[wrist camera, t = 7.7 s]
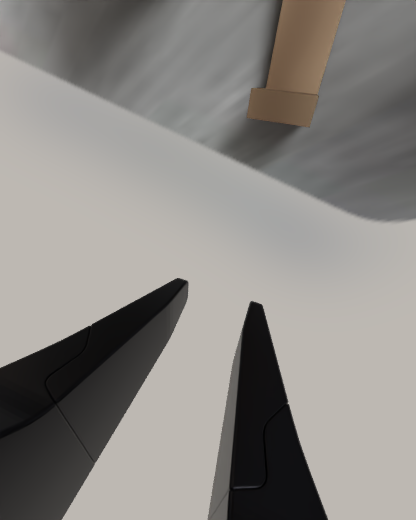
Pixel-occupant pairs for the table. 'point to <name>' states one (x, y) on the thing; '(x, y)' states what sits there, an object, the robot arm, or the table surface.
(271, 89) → the tan wooden paddle
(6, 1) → the table surface
